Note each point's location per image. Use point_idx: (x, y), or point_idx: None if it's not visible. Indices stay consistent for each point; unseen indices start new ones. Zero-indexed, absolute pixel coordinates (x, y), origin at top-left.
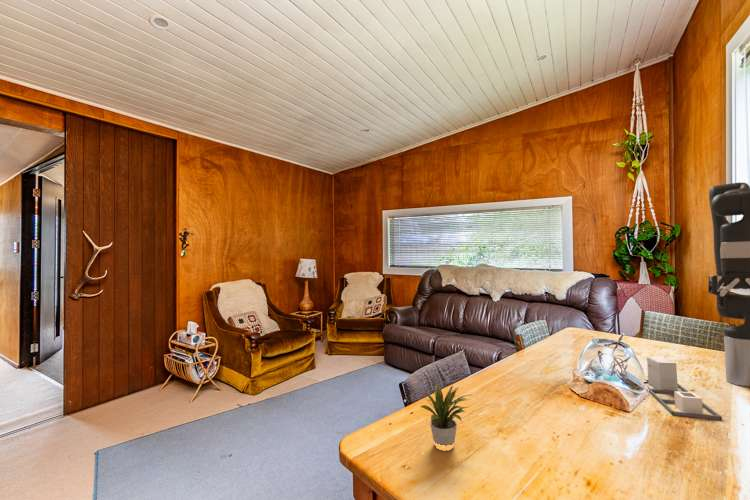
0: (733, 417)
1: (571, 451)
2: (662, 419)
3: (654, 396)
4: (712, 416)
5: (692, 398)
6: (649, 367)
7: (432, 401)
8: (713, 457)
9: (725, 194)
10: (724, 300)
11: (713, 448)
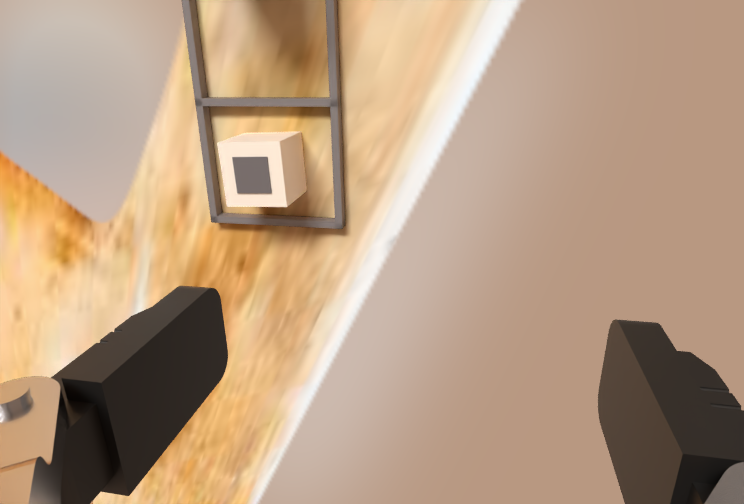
0: (392, 190)
1: None
2: (185, 259)
3: (192, 57)
4: (318, 226)
5: (258, 206)
6: None
7: None
8: (241, 433)
9: None
10: (154, 444)
11: (255, 397)
